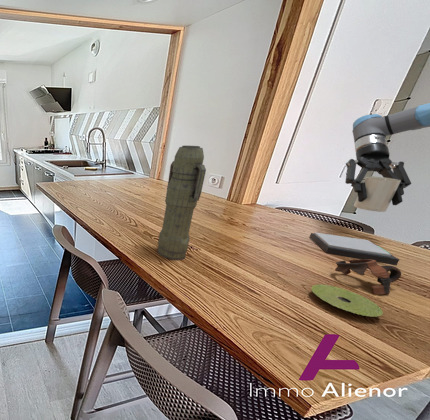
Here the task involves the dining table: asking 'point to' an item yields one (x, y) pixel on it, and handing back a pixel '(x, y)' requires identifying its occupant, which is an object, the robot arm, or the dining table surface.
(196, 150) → the thermos
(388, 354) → the dining table surface
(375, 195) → the cup
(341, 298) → the green disc
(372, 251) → the kitchen scale
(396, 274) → the brown branching piece
